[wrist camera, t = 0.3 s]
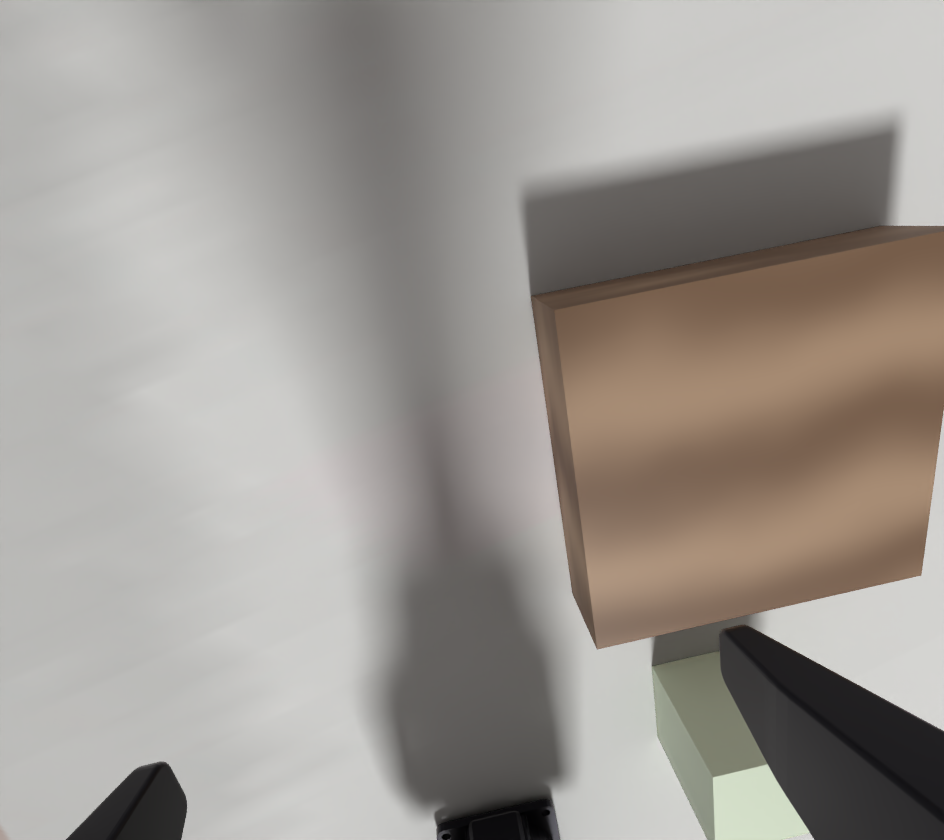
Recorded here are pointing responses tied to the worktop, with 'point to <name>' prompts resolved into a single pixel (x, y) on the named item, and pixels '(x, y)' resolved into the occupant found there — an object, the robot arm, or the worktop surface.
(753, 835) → the sage block
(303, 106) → the worktop surface
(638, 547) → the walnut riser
